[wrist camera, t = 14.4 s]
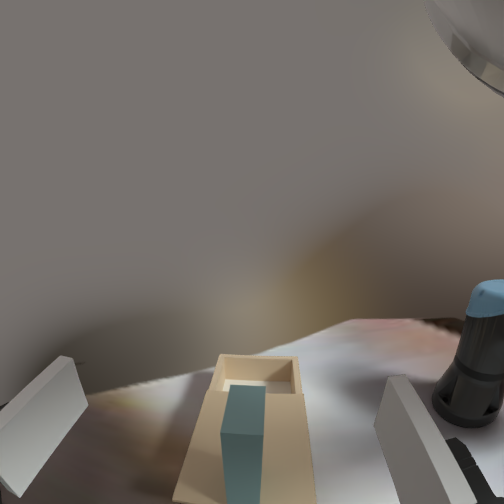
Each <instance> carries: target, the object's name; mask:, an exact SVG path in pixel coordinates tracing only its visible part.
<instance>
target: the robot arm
mask: <svg viewBox="0 0 504 504" xmlns="http://www.w3.org/2000/svg"><path fill="white" fill-rule="evenodd" d="M424 4H425V8H426V10H427V13H428V15H429V18H430V20H431V22H432V24H433V26H434V28H435V30H436V31H437V33H438V34H439V36H440V38H441V39H442V40H443V42H444V43H445V45H446V46H447V47H448V49H449V50H450V51H451V52H452V54H453V55H454V56H455V57H456V58H457V59H458V60H459V61H460V62H461V64H462V65H463V66H464V67H465V68H466V69H467V70H468V71H469V72H470V73H471V74H472V75H473V76H475V77H476V78H477V79H478V80H480V81H481V82H482V83H483V84H484V85H486V86H487V87H489V88H490V89H491V90H492V91H494V92H495V93H497V94H498V95H500V96H502V97H503V98H504V0H424ZM466 314H467V315H466V319H465V323H464V327H463V331H462V334H461V338H460V341H459V345H458V348H457V351H456V355H455V358H454V360H453V362H452V364H451V365H450V366H449V368H448V369H447V370H446V372H445V373H444V374H443V376H442V377H441V378H440V380H439V381H438V383H437V385H436V387H435V390H434V392H433V395H432V402H433V405H434V408H435V409H436V411H437V412H438V413H439V414H440V415H441V416H442V417H443V418H444V419H446V420H447V421H449V422H451V423H453V424H455V425H458V426H462V427H468V428H476V427H482V426H485V425H487V424H489V423H491V422H492V421H493V420H494V419H495V418H496V417H497V415H498V413H499V411H500V409H501V407H502V404H503V399H504V280H490V281H485V282H482V283H480V284H478V285H477V286H476V287H475V288H474V290H473V292H472V294H471V298H470V302H469V306H468V308H467V310H466ZM87 407H88V402H87V400H86V397H85V394H84V392H83V389H82V386H81V383H80V380H79V377H78V374H77V371H76V368H75V364H74V361H73V358H69V357H65V356H59V357H58V358H57V359H56V360H55V361H54V362H52V364H50V365H49V366H48V367H47V368H46V369H45V370H44V371H43V372H42V373H40V374H39V375H38V376H37V377H36V378H35V379H34V380H33V381H32V382H30V383H29V384H28V385H27V386H26V387H25V388H24V389H23V390H22V391H21V392H20V393H19V394H18V395H17V396H16V397H14V398H13V400H12V401H10V402H8V403H6V404H4V405H2V406H0V482H1V483H2V484H3V485H4V486H5V488H6V489H7V490H9V491H10V492H11V493H13V494H14V495H16V496H18V497H19V498H20V497H21V496H22V495H23V493H24V492H25V490H26V489H27V487H28V486H29V485H30V483H31V482H32V480H33V479H34V478H35V476H36V475H37V473H38V472H39V471H40V469H41V468H42V467H43V465H44V464H45V462H46V461H47V460H48V458H49V457H50V456H51V454H52V453H53V452H54V450H55V449H56V447H57V446H58V445H59V443H60V442H61V441H62V439H63V438H64V437H65V435H66V434H67V433H68V431H69V430H70V429H71V427H72V426H73V425H74V424H75V422H76V421H77V420H78V418H79V417H80V416H81V414H82V413H83V412H84V410H85V409H86V408H87ZM374 428H375V431H376V433H377V436H378V439H379V442H380V444H381V447H382V450H383V453H384V456H385V459H386V462H387V464H388V467H389V470H390V473H391V476H392V479H393V482H394V485H395V488H396V491H397V495H398V498H399V501H400V504H504V498H503V497H496V496H495V495H494V493H493V492H492V490H491V488H490V486H489V485H488V483H487V481H486V479H485V477H484V476H483V474H482V472H481V470H480V469H479V467H478V465H477V466H476V462H475V460H474V458H473V457H471V456H472V455H471V453H470V452H469V450H468V448H467V447H466V445H465V444H463V443H462V442H461V441H459V440H458V439H457V438H456V437H455V438H452V439H448V440H444V438H443V436H442V435H441V433H440V431H439V429H438V428H437V426H436V424H435V423H434V421H433V419H432V417H431V416H430V414H429V412H428V411H427V409H426V407H425V406H424V404H423V402H422V401H421V399H420V397H419V396H418V394H417V393H416V391H415V389H414V388H413V386H412V385H411V383H410V381H409V380H408V378H407V377H406V375H405V374H404V375H396V376H388V379H387V383H386V386H385V390H384V393H383V397H382V400H381V403H380V407H379V410H378V413H377V416H376V419H375V422H374ZM0 504H2V501H1V491H0Z"/></svg>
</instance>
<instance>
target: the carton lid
mask: <svg viewBox="0 0 504 504" xmlns="http://www.w3.org/2000/svg"><path fill="white" fill-rule="evenodd" d="M172 501H173V502H178V503H184V504H316V494H315V484H314V475H313V466H312V457H311V448H310V440H309V432H308V423H307V416H306V408H305V400H304V394H269V393H266V386H250V385H231V384H230V389H229V392H227V391H214V390H207V391H206V394H205V397H204V400H203V404H202V407H201V410H200V413H199V416H198V419H197V422H196V425H195V429H194V432H193V435H192V438H191V441H190V444H189V447H188V450H187V454H186V457H185V460H184V463H183V466H182V469H181V472H180V475H179V479H178V482H177V485H176V488H175V491H174V494H173V497H172Z"/></svg>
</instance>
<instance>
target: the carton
mask: <svg viewBox="0 0 504 504" xmlns="http://www.w3.org/2000/svg"><path fill="white" fill-rule="evenodd" d="M230 384H231V385H250V386H266V393H269V394H303V393H302V386H301V378H300V371H299V363H298V357H292V356H249V355H229V354H220V355H219V358H218V361H217V364H216V368H215V371H214V374H213V377H212V380H211V384H210V387H209V390H214V391H227V392H229V389H230Z"/></svg>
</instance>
